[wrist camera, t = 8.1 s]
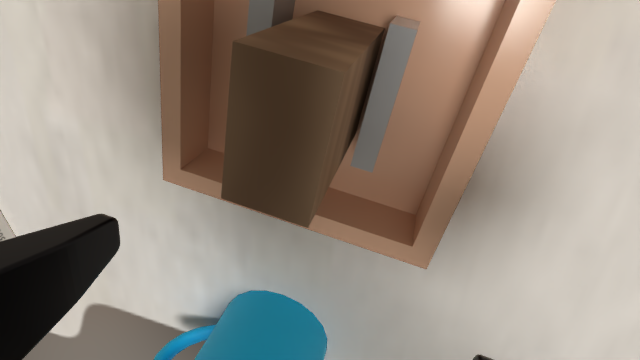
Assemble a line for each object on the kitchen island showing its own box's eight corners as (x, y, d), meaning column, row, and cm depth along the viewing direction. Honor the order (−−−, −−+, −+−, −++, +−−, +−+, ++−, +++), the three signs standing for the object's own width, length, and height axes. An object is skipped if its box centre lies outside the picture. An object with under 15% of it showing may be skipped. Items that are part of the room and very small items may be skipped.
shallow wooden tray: (562, -72, 14) (596, -83, 11) (428, 226, 21) (426, 269, 18) (208, -147, 15) (153, -173, 13) (199, 152, 23) (163, 180, 20)
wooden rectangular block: (384, 27, 16) (344, 72, 9) (355, 133, 19) (307, 228, 12) (317, 10, 16) (232, 40, 10) (298, 116, 19) (221, 198, 12)
